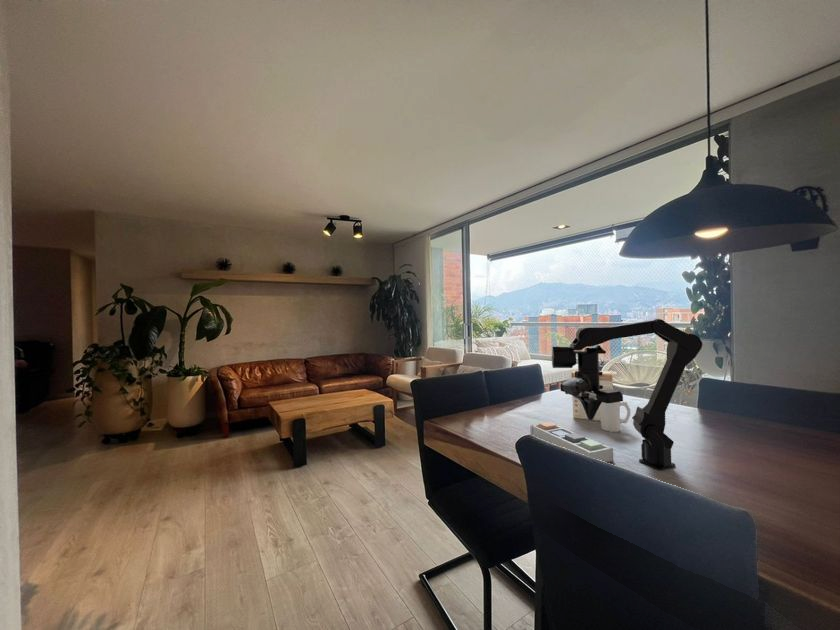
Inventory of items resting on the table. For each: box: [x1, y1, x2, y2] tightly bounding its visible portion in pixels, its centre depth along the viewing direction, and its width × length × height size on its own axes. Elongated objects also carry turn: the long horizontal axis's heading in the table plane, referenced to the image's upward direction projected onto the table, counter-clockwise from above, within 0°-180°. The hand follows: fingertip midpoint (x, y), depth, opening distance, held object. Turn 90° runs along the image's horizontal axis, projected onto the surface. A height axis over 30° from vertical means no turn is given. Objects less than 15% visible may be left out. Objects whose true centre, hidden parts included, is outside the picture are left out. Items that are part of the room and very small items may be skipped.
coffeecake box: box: [571, 369, 614, 422], centre depth 143 cm, size 15×7×20 cm, turn 59°
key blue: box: [551, 430, 569, 437], centre depth 116 cm, size 4×4×2 cm
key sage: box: [580, 438, 603, 451], centre depth 104 cm, size 4×4×2 cm
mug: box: [600, 401, 631, 433], centre depth 129 cm, size 10×7×12 cm, turn 60°
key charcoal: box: [565, 432, 586, 444], centre depth 110 cm, size 4×4×2 cm
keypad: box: [529, 421, 614, 463], centre depth 113 cm, size 27×9×4 cm, turn 19°
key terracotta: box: [538, 421, 557, 431], centre depth 123 cm, size 4×4×2 cm
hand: (590, 419), depth 104 cm, fingers closed
